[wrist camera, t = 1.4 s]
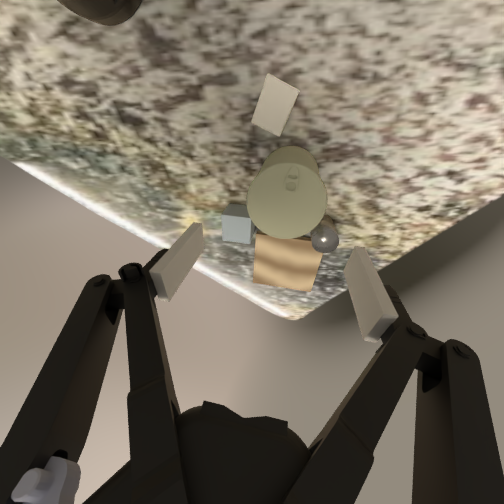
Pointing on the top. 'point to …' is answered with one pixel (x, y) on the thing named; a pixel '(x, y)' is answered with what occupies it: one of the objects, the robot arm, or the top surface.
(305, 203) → the can
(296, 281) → the board
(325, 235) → the tin
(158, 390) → the robot arm
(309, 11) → the top surface
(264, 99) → the block white
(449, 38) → the top surface
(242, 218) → the block gray
